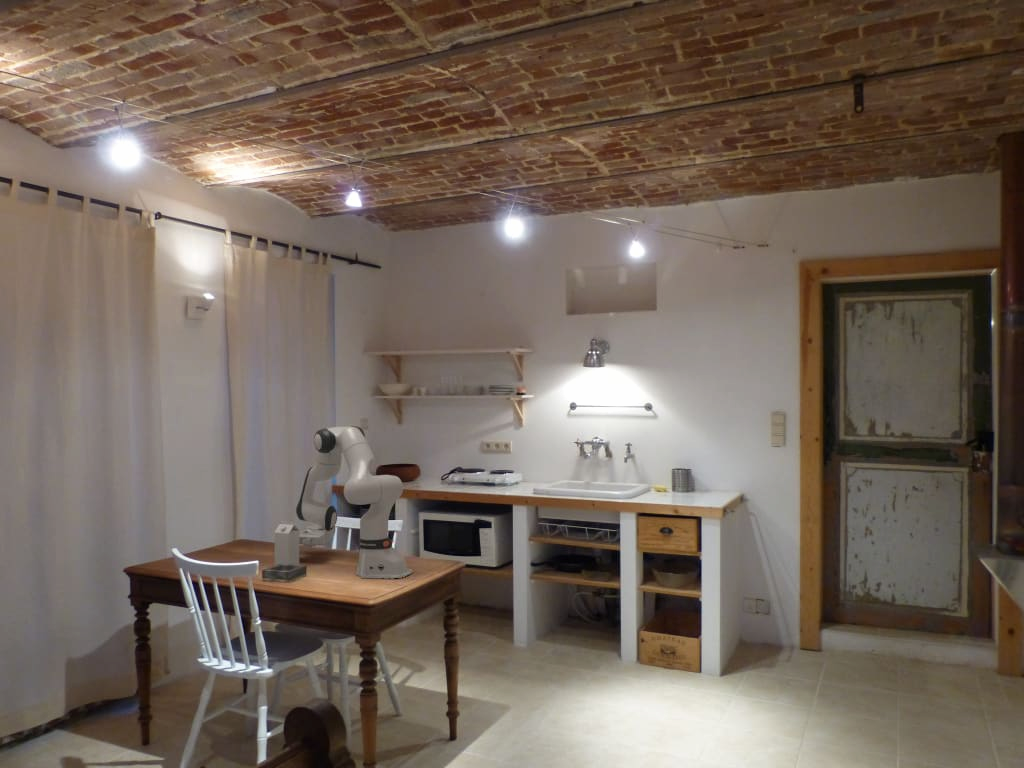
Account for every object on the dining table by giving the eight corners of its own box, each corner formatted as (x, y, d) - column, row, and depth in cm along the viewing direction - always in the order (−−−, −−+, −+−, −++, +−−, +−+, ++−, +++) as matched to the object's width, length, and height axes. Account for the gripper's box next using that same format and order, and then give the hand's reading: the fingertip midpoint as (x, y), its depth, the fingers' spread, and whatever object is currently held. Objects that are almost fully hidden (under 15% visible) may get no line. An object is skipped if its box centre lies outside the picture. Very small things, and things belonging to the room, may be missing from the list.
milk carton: (285, 565, 322) (285, 520, 323) (299, 566, 320) (299, 520, 320) (274, 568, 315) (274, 522, 316) (288, 569, 313) (288, 523, 313)
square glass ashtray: (306, 575, 302) (306, 565, 303) (289, 582, 291) (289, 572, 291) (280, 573, 306) (280, 563, 306) (262, 580, 294) (262, 570, 294)
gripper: (289, 528, 338) (270, 533, 324) (330, 530, 332) (313, 535, 318) (289, 542, 337) (270, 548, 324) (330, 544, 331) (313, 550, 318)
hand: (292, 542), depth 321 cm, fingers open, 8 cm apart
